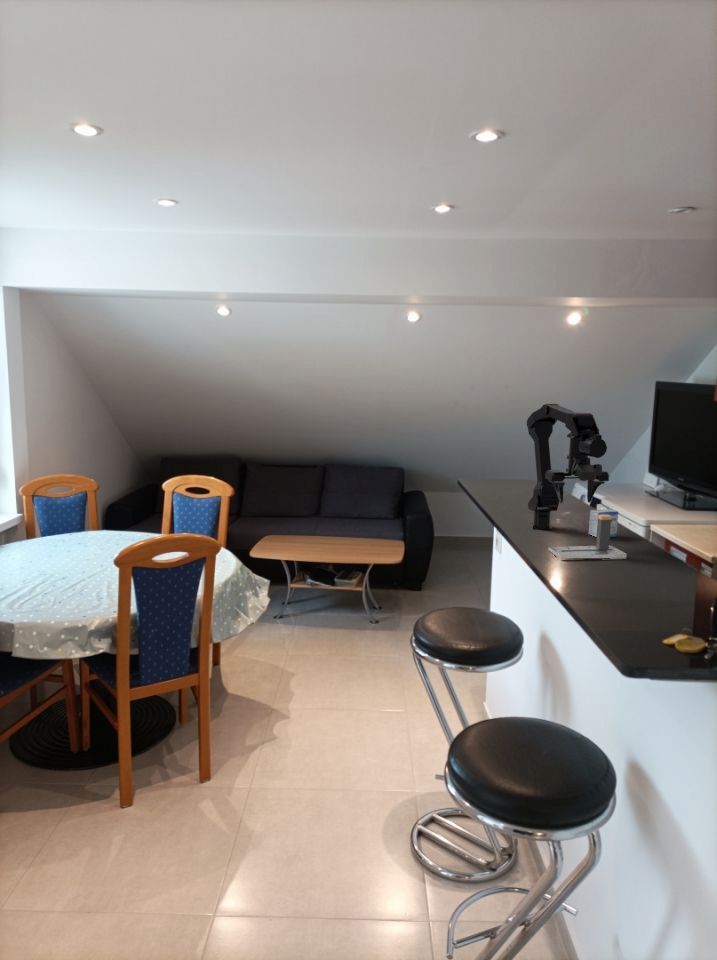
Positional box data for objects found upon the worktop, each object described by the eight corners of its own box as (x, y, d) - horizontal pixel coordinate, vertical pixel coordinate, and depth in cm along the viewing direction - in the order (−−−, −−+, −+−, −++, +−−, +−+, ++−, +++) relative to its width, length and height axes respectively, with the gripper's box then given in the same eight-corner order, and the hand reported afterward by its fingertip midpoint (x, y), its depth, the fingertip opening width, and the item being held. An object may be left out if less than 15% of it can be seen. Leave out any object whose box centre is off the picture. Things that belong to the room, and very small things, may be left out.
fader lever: (599, 549, 192) (601, 516, 190) (595, 547, 194) (598, 514, 192) (608, 549, 192) (611, 516, 191) (605, 547, 194) (607, 514, 192)
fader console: (561, 560, 187) (561, 555, 187) (548, 551, 196) (548, 546, 196) (626, 558, 190) (626, 553, 189) (610, 550, 198) (611, 545, 198)
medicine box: (596, 538, 212) (598, 512, 211) (587, 535, 216) (589, 509, 215) (616, 537, 214) (618, 511, 213) (608, 533, 218) (610, 508, 217)
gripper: (561, 457, 193) (557, 508, 195) (620, 456, 195) (616, 507, 198) (545, 452, 204) (542, 501, 206) (602, 452, 206) (598, 500, 209)
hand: (575, 502), depth 204 cm, fingers open, 9 cm apart
